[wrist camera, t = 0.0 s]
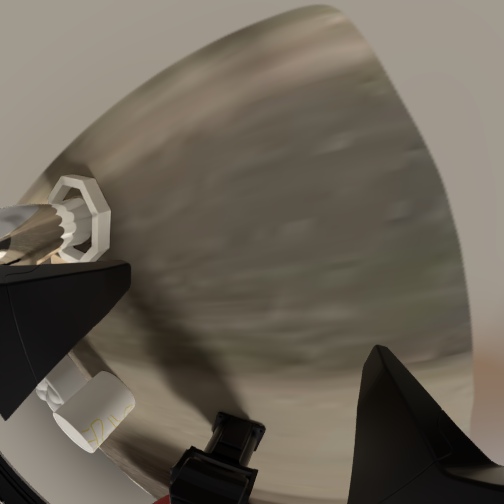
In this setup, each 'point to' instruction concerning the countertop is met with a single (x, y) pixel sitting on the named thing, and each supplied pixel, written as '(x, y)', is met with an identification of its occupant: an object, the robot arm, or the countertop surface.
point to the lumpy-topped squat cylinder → (61, 383)
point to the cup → (95, 410)
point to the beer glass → (42, 230)
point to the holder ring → (97, 209)
